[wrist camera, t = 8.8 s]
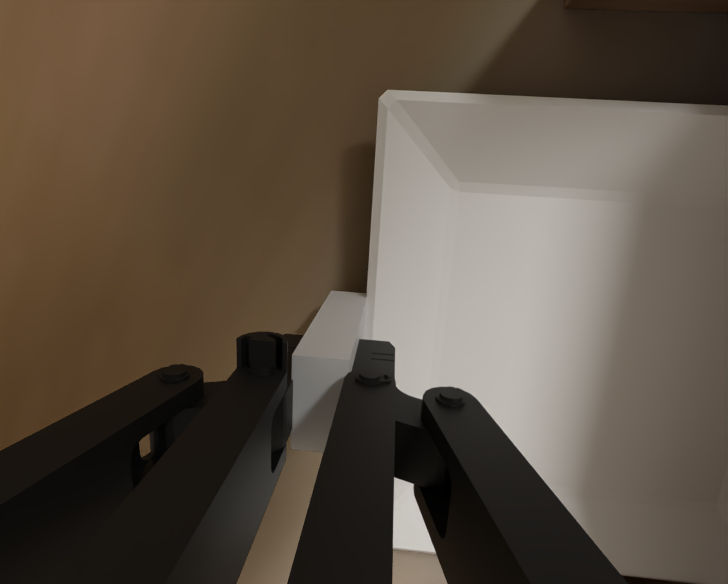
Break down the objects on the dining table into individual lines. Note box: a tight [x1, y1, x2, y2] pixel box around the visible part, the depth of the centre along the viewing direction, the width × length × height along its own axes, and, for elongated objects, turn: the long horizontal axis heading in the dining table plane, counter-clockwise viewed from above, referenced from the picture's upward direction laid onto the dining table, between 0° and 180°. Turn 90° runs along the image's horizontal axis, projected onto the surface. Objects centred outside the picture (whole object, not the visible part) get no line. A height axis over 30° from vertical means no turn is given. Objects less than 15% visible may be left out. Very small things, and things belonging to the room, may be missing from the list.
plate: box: [364, 90, 728, 584], centre depth 17 cm, size 19×19×2 cm
